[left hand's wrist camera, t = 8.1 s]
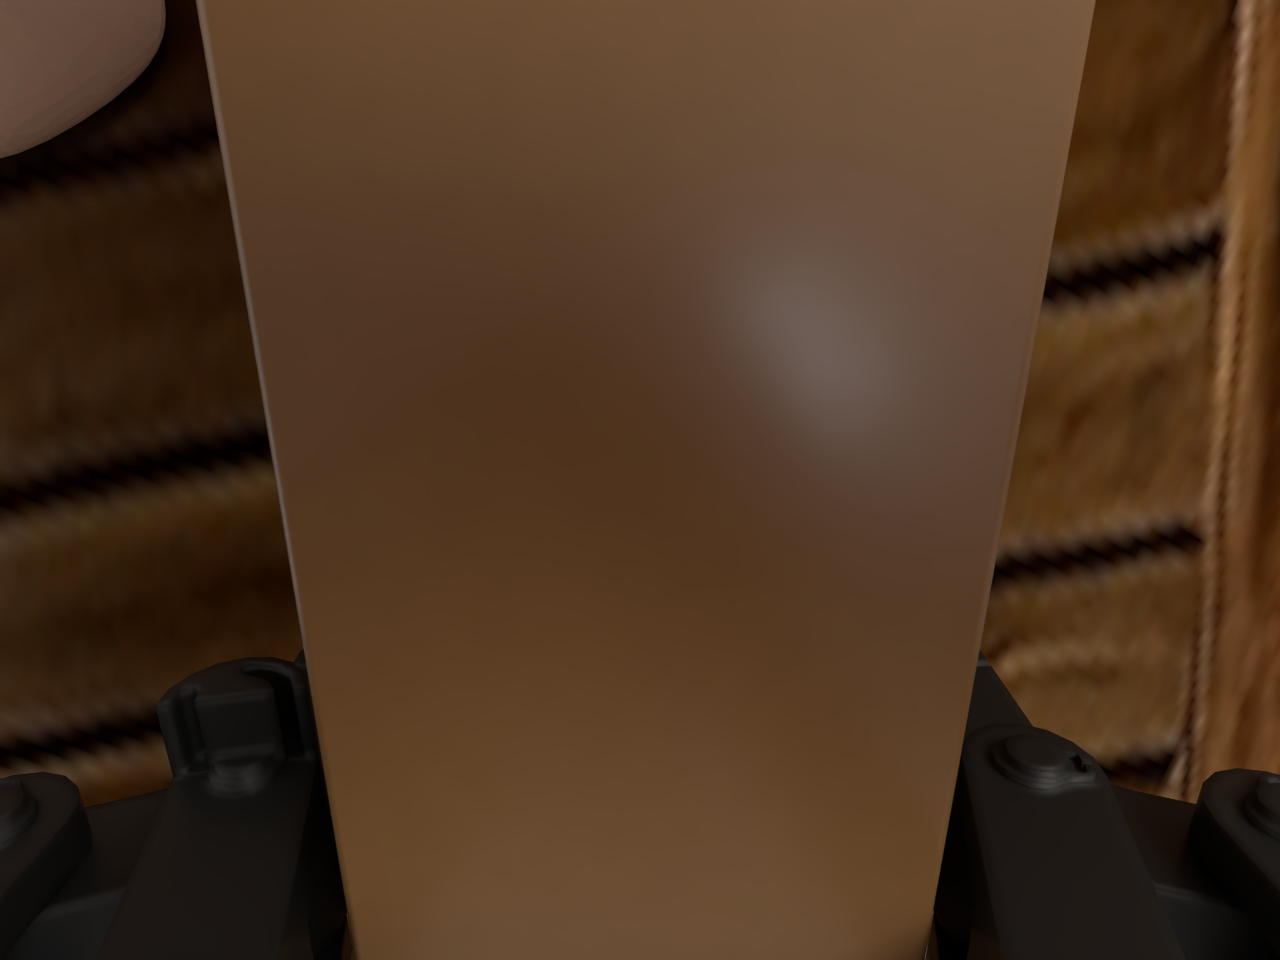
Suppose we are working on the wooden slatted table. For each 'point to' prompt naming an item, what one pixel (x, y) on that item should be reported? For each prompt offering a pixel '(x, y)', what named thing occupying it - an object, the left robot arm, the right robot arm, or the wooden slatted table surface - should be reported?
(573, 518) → the bar
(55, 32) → the anatomical model
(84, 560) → the wooden slatted table surface
